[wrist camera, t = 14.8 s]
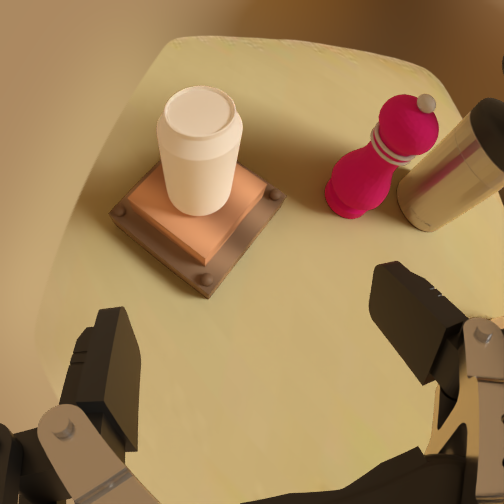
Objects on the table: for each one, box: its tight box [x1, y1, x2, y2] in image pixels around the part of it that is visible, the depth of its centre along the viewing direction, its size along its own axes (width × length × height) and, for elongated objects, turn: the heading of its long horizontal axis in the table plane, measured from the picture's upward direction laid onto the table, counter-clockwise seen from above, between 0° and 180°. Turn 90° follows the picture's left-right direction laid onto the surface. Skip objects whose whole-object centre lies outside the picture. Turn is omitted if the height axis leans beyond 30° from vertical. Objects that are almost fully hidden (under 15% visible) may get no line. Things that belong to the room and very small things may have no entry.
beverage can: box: [156, 86, 243, 216], centre depth 26 cm, size 6×6×12 cm
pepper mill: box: [325, 94, 439, 219], centre depth 31 cm, size 7×7×20 cm
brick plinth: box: [109, 160, 287, 299], centre depth 34 cm, size 14×14×6 cm
